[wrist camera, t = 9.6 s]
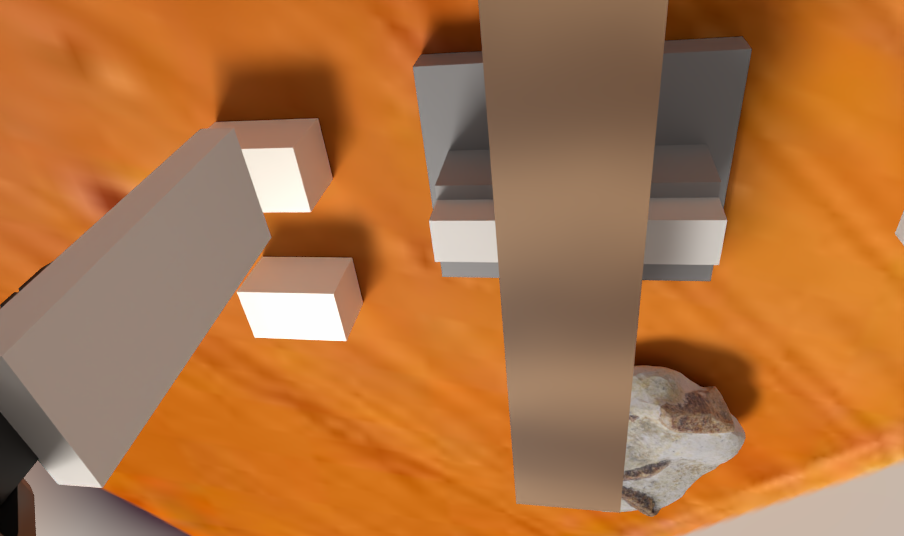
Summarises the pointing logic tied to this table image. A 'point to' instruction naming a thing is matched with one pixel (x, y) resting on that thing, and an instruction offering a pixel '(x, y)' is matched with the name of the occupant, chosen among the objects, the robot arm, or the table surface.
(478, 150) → the fulcrum
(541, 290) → the bar
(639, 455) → the stone
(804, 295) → the table surface
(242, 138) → the blocks
